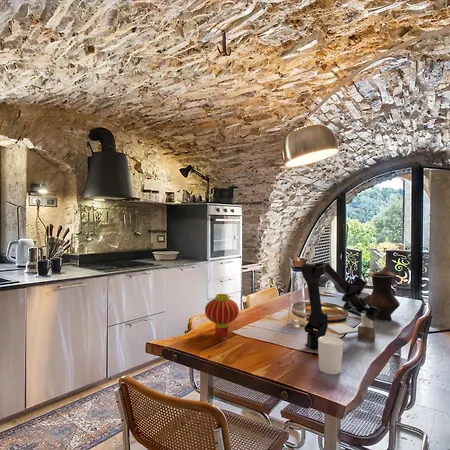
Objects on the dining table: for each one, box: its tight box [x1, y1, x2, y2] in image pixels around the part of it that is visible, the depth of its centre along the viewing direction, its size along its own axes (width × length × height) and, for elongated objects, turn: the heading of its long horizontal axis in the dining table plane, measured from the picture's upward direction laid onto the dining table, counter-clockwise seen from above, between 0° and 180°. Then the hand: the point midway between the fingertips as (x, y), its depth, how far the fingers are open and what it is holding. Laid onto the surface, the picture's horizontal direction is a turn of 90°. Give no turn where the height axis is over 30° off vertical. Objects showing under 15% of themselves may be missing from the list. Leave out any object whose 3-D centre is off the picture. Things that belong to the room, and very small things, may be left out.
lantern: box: [204, 275, 240, 337], centre depth 178 cm, size 17×17×30 cm
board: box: [327, 323, 358, 335], centre depth 190 cm, size 12×12×1 cm
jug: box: [367, 266, 400, 322], centre depth 209 cm, size 21×18×30 cm
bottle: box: [360, 306, 374, 328], centre depth 183 cm, size 6×5×14 cm
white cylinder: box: [317, 335, 345, 375], centre depth 141 cm, size 10×10×12 cm
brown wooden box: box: [357, 324, 376, 342], centre depth 176 cm, size 8×4×6 cm, turn 66°
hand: (368, 318), depth 183 cm, fingers open, 9 cm apart
